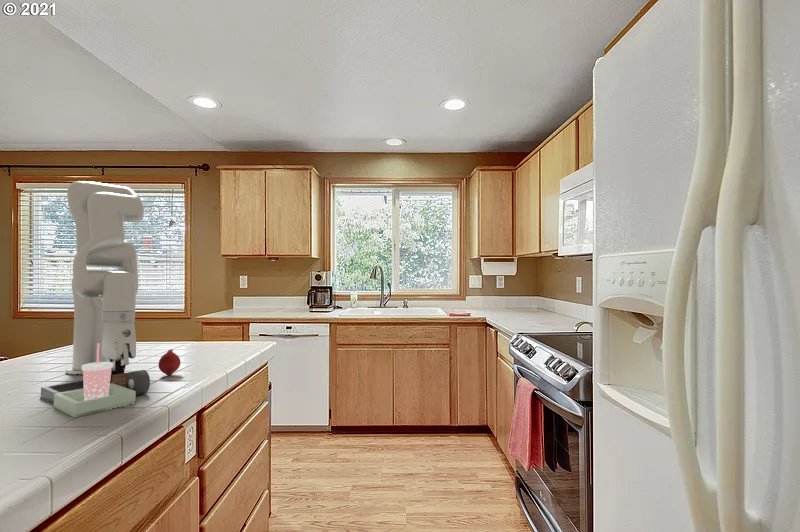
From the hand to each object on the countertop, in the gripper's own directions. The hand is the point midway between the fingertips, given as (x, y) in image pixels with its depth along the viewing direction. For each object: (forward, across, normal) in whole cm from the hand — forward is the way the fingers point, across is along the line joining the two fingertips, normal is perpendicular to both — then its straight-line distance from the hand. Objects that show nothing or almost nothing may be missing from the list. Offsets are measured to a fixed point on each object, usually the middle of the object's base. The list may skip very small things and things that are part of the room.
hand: (116, 384), depth 113 cm
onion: (+1, +1, -15) cm, 15 cm away
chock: (+1, -6, 0) cm, 6 cm away
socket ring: (+1, -1, +10) cm, 10 cm away
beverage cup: (0, -13, +10) cm, 17 cm away
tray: (+1, -13, +10) cm, 17 cm away
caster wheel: (+1, -12, 0) cm, 12 cm away
